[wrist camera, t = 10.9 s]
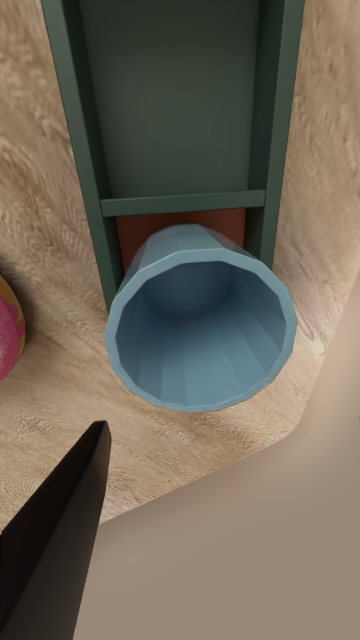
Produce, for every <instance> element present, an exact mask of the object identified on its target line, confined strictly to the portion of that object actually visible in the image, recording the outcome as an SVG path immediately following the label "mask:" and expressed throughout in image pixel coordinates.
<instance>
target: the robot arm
mask: <svg viewBox="0 0 360 640" xmlns="http://www.w3.org/2000/svg"><path fill="white" fill-rule="evenodd" d="M111 441H112V440H111V433H110V430H109V426H108V423H107V421H105V420H102V421H95V422H93V423H92V424H91V425H90V427H89V428H88V429H87V430H86V431H85V433H84V434H83V435H82V436H81V437H80V439H79V440H78V441H77V442H76V443H75V445H74V446H73V447H72V448H71V449H70V451H69V452H68V453H67V454H66V455H65V457H64V458H63V459H62V460H61V461H60V463H59V464H58V465H57V466H56V467H55V469H54V470H53V471H52V472H51V473H50V474H49V476H48V477H47V478H46V479H45V480H44V482H43V483H42V484H41V485H40V486H39V488H38V489H37V490H36V491H35V492H34V494H33V495H32V496H31V497H30V498H29V500H28V501H27V502H26V503H25V504H24V506H23V507H22V508H21V509H20V510H19V512H18V513H17V514H16V515H15V516H14V518H13V519H12V520H11V521H10V522H9V524H8V525H7V526H6V527H5V528H4V529H3V531H2V533H1V535H0V640H73V636H74V631H75V627H76V622H77V618H78V613H79V609H80V604H81V600H82V595H83V591H84V586H85V582H86V577H87V573H88V568H89V564H90V559H91V555H92V551H93V546H94V542H95V537H96V533H97V528H98V524H99V519H100V515H101V510H102V506H103V501H104V496H105V491H106V484H107V476H108V467H109V459H110V451H111Z"/></svg>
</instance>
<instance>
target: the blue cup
mask: <svg viewBox="0 0 360 640" xmlns="http://www.w3.org/2000/svg"><path fill="white" fill-rule="evenodd" d="M296 328H297V318H296V315H295V311H294V307H293V304H292V300H291V296H290V293H289V290H288V288H287V287H286V286H285V285H284V284H283V283H282V282H281V281H280V280H279V279H278V278H277V277H276V276H275V275H274V273H273V272H272V271H271V270H270V269H269V268H268V267H267V266H266V265H265V264H264V263H263V262H261V261H260V260H258V259H257V258H256V257H254V256H253V255H251V254H250V253H248V252H247V251H245V250H244V249H243V248H241V247H240V246H238V245H237V244H235V243H234V242H233V241H231V240H230V239H228V238H227V237H225V236H224V235H223V234H221V233H220V232H218V231H217V230H215V229H214V228H211V227H209V226H207V225H204V224H202V223H199V222H196V221H176V222H172V223H168V224H166V225H163V226H161V227H160V228H158V229H156V230H155V231H153V232H152V233H151V234H150V235H149V236H148V237H147V238H146V239H145V240H144V242H143V243H142V245H141V246H140V247H139V248H138V250H137V252H136V254H135V256H134V258H133V260H132V262H131V264H130V266H129V268H128V271H127V273H126V275H125V277H124V279H123V281H122V283H121V285H120V287H119V289H118V291H117V294H116V296H115V298H114V300H113V302H112V305H111V309H110V313H109V317H108V321H107V325H106V329H105V333H104V339H105V343H106V347H107V352H108V356H109V361H110V365H111V367H112V369H113V370H114V372H115V373H116V374H117V376H118V377H119V378H120V379H121V381H122V382H123V383H124V384H125V386H126V387H127V388H128V390H129V391H131V392H132V393H133V394H135V395H137V396H139V397H140V398H142V399H144V400H145V401H147V402H149V403H151V404H152V405H154V406H157V407H159V408H164V409H169V410H174V411H178V412H183V413H196V412H208V411H218V410H222V409H224V408H227V407H230V406H232V405H235V404H238V403H240V402H243V401H246V400H248V399H249V398H251V397H252V396H253V395H255V394H256V393H257V392H259V391H260V390H261V389H263V388H264V387H265V386H267V385H268V384H269V383H271V382H272V381H273V380H274V379H275V377H276V376H277V374H278V373H279V371H280V370H281V368H282V367H283V365H284V364H285V362H286V361H287V359H288V358H289V356H290V355H291V353H292V348H293V343H294V338H295V333H296Z"/></svg>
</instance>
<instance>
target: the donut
mask: <svg viewBox="0 0 360 640" xmlns="http://www.w3.org/2000/svg"><path fill="white" fill-rule="evenodd" d="M24 345H25V320H24V317H23V313H22V310H21V306H20V304H19V302H18V300H17V298H16V297H15V295H14V293H13V291H12V289H11V287H10V286H9V285H8V284H7V282H6V281H5V280H4V279H3V277H2V276H1V275H0V381H1V380H2V379H4V378H5V376H6V375H7V374H8V373H9V372H10V370H11V369H12V368H13V367H14V365H15V364H16V363H17V361H18V360H19V359H20V357H21V354H22V351H23V348H24Z"/></svg>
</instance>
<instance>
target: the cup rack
mask: <svg viewBox="0 0 360 640" xmlns="http://www.w3.org/2000/svg"><path fill="white" fill-rule="evenodd" d="M304 2H305V0H41V5H42V10H43V14H44V19H45V24H46V28H47V33H48V38H49V42H50V47H51V51H52V56H53V61H54V65H55V70H56V75H57V79H58V84H59V89H60V93H61V98H62V103H63V107H64V112H65V117H66V121H67V126H68V131H69V135H70V140H71V145H72V149H73V154H74V158H75V163H76V168H77V172H78V177H79V182H80V186H81V191H82V196H83V200H84V205H85V210H86V214H87V219H88V224H89V228H90V233H91V238H92V242H93V247H94V252H95V256H96V261H97V265H98V270H99V275H100V279H101V284H102V289H103V293H104V298H105V303H106V307H107V312H108V317H109V313H110V309H111V305H112V302H113V300H114V298H115V296H116V294H117V291H118V289H119V287H120V285H121V283H122V281H123V279H124V277H125V275H126V273H127V271H128V268H129V266H130V264H131V262H132V260H133V258H134V256H135V254H136V252H137V250H138V248H139V247H140V246H141V245H142V243H143V242H144V240H145V239H146V238H147V237H148V236H149V235H150V234H151V233H152V232H153V231H155V230H156V229H158V228H160V227H161V226H163V225H166V224H168V223H172V222H176V221H196V222H199V223H202V224H204V225H207V226H209V227H211V228H214V229H215V230H217V231H218V232H220V233H221V234H223V235H224V236H225V237H227V238H228V239H230V240H231V241H233V242H234V243H235V244H237V245H238V246H240V247H241V248H243V249H244V250H245V251H247V252H248V253H250V254H251V255H253V256H254V257H256V258H257V259H258V260H260V261H261V262H263V263H264V264H265V265H266V266H267V267H268V268H269V269H270V270H271V271H272V263H273V255H274V247H275V239H276V231H277V222H278V214H279V206H280V198H281V190H282V182H283V174H284V165H285V157H286V149H287V141H288V133H289V125H290V116H291V108H292V100H293V92H294V84H295V76H296V68H297V59H298V51H299V43H300V35H301V27H302V19H303V11H304Z"/></svg>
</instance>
